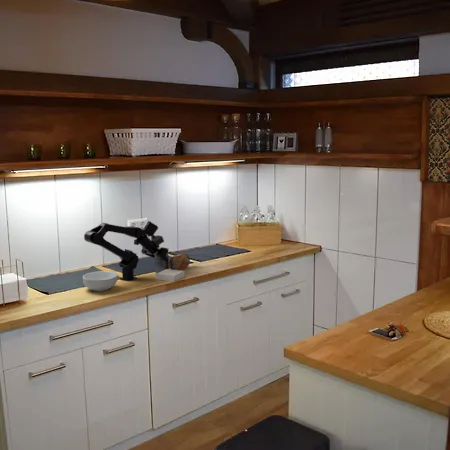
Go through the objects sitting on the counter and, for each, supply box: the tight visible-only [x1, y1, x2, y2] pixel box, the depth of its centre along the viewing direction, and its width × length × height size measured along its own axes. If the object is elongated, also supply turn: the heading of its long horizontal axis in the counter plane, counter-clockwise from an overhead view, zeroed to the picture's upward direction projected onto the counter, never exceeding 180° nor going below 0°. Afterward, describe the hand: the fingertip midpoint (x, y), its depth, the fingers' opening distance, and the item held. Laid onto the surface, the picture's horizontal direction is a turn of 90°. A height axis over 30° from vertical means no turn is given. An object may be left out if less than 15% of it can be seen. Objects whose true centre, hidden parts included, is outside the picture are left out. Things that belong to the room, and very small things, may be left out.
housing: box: [154, 247, 170, 274], centre depth 303 cm, size 6×6×13 cm
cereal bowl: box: [82, 270, 118, 292], centre depth 271 cm, size 17×17×7 cm
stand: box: [155, 268, 185, 282], centre depth 292 cm, size 11×11×3 cm
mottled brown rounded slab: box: [169, 253, 191, 271], centre depth 310 cm, size 15×3×8 cm, turn 143°
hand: (163, 260), depth 304 cm, fingers closed on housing, 7 cm apart
